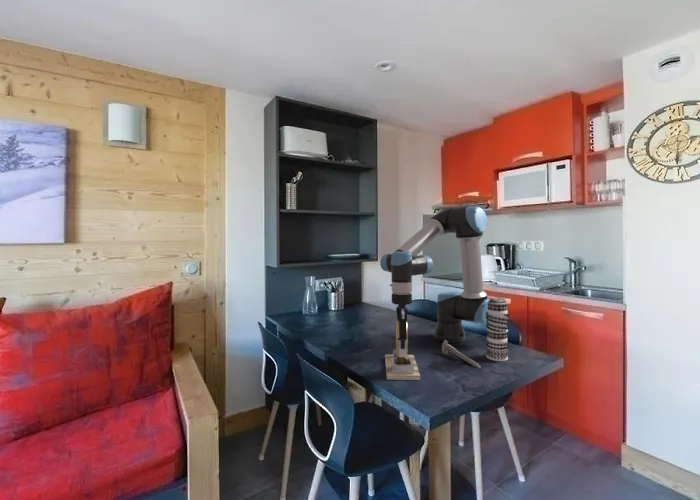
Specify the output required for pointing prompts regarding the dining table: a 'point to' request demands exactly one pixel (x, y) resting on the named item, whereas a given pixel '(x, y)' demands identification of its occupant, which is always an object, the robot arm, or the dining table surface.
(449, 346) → the caliper
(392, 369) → the fitting board
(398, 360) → the brass cylinder
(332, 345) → the dining table surface
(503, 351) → the decorative candle
